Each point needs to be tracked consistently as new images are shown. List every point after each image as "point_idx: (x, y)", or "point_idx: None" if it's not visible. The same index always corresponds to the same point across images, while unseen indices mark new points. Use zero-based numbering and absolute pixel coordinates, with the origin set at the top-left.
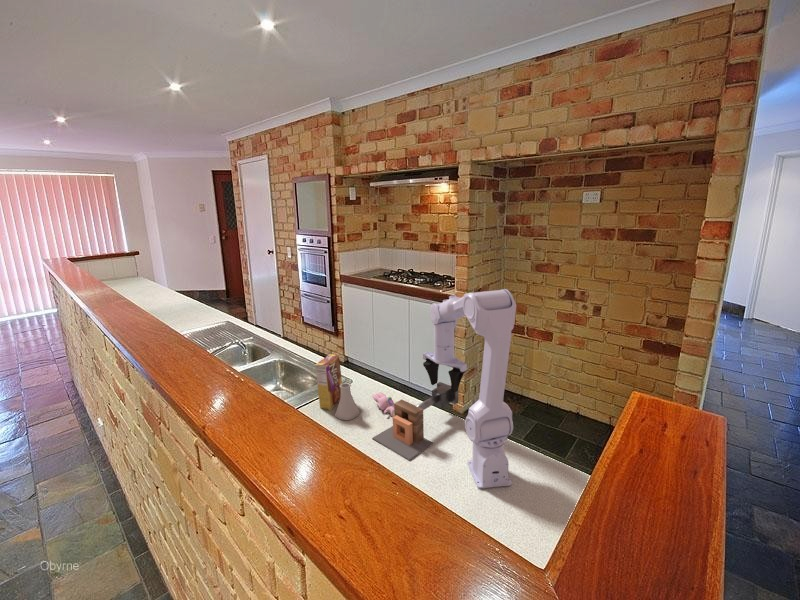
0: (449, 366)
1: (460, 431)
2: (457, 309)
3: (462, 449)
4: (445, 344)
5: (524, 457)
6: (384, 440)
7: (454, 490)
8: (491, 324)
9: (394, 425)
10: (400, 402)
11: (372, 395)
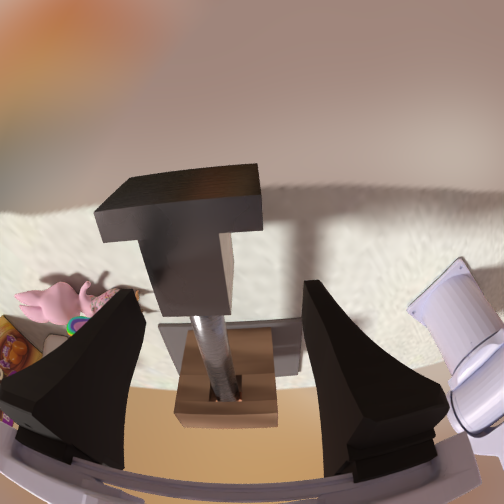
0: (284, 487)
1: (330, 224)
2: None
3: (378, 284)
4: None
5: (498, 208)
6: None
7: (405, 357)
8: None
9: None
10: (189, 420)
11: (29, 318)
